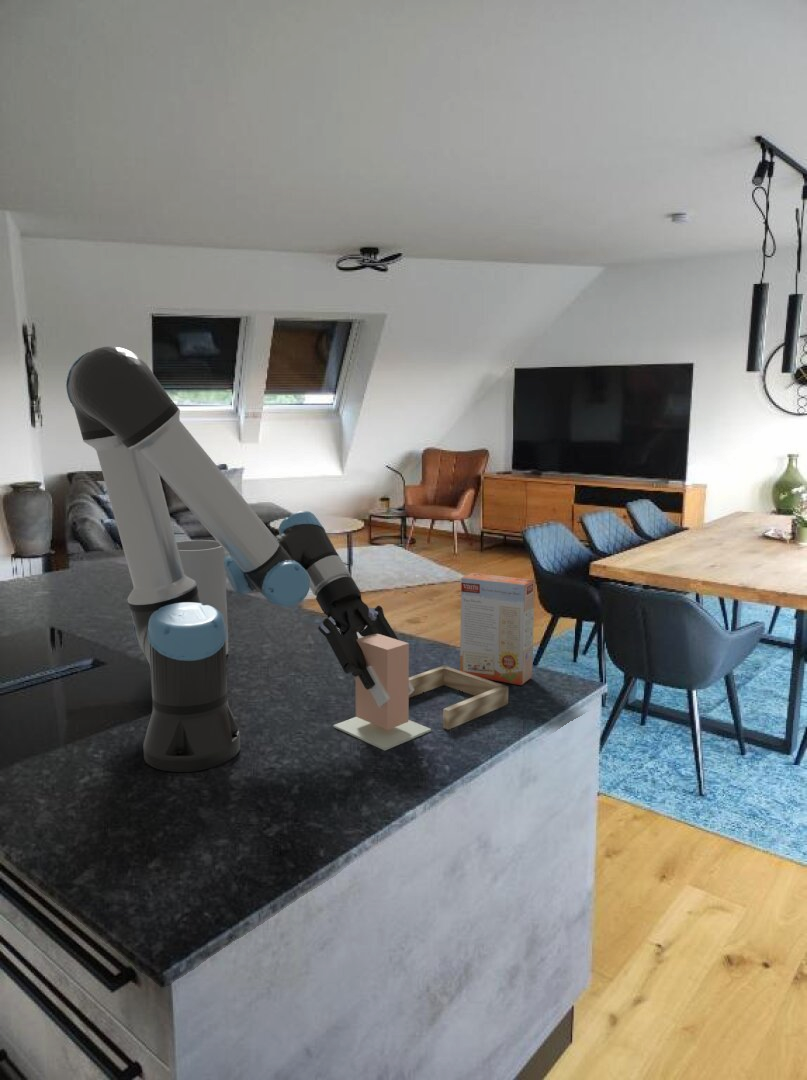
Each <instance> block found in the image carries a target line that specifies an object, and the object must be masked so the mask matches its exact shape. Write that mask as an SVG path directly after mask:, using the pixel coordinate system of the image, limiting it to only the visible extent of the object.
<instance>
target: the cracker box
mask: <svg viewBox="0 0 807 1080" xmlns="http://www.w3.org/2000/svg"><path fill="white" fill-rule="evenodd" d="M460 580H461V584H460V585H461V587H460V588H461V591H460V593H461V594H460V643H459V645H460V646H459V654H460V655H459V656H460V657H459V671H462V672H465V673H468V674H471V675H474V676H478V677H481V678H484V679H487V680H490V681H494V682H495V681H496V682H502V683H507V684H512V685H517V686H523V685H524V684H525V683H527V682H528V681H529V680H530V679H532V678H533V657H534V656H533V654H534V619H535V581H536V579H527V578H520V577H511V576H504V575H496V574H493V575H492V574H487V573H486V574H485V573H478V572H471V573H469V574H467V575H464V576H462V577H461V579H460Z"/></svg>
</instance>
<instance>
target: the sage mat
mask: <svg viewBox="0 0 807 1080" xmlns="http://www.w3.org/2000/svg"><path fill="white" fill-rule="evenodd" d="M333 728H334V729H336V730H339V731H341V732H343V733H346V734H348V735H350V736H352V737H354V738H356V739H359V740H360V741H363V742H365V743H367V744H369V745H372V746H373V747H376V748H378V749H380V750H382V751H384V752H385V751H388V750H390V749H392V748H394V747H397V746H399V745H401V744H404V743H406V742H408V741H411V740H413V739H416V738H418V737H420V736H423V735H425V734H428V733H430V732H432V729H431V728H430V727H427V726H425V725H422V724H420V723H417V722H416V721H412V720H411V719H409V722H407V723H404V724H402V725H399V726H397V727H394V728H391V729H389V730H386V729H384V728H381V727H379V726H377V725H374V724H372V723H370V722H367V721H365V720H363V719H360V718H358V717H356V716H354V717H351V718H350V719H347V720H343V721H341V722H338V723H335V724H333Z"/></svg>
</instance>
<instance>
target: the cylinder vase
mask: <svg viewBox="0 0 807 1080" xmlns="http://www.w3.org/2000/svg"><path fill="white" fill-rule="evenodd" d="M176 543H177V547H178V551H179V555H180V559H181V563H182V567H183V570H184V574H185V575H186V576H187V577H189V578H191V579H193V580H194V581H196V585H197V589H198V593H199V596H200V600H201V603H202V604H203V605H210V606H212V607H214V608H216V609H217V610H219V611H220V613H221V614H222V616H223V618H224V625H225V628H226V639H225V640H226V656H227V655H228V654H229V632H228V627H229V626H228V608H227V607H228V606H227V601H228V600H227V577H226V576H227V574H226V571H225V568H224V559H225V558H226V555H225V554H226V551H225V550H224V549H223V547H222V546H221V545H220V544H219V543H218V542H217V541H216V540H210V539H208V540H206V539H193V540H181V541H176Z"/></svg>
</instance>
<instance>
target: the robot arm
mask: <svg viewBox="0 0 807 1080" xmlns="http://www.w3.org/2000/svg"><path fill="white" fill-rule="evenodd" d="M66 378H67V379H66V382H65V383H66V385H65V386H66V394H67V397H68V400H69V402H70V403H71V404H72V405H71V406H72V407H73V409H74V413H75V416H76V420H77V423H78V427H79V430H80V434H81V437H82V441H83V443H85V444H87V445H89V446H90V447H91V448H93V449H94V450H95V451H96V455H97V458H98V462H99V465H100V469H101V472H102V476H103V481H104V483H105V487H106V490H107V494H108V499H109V501H110V506H111V510H112V513H113V517H114V520H115V523H116V528H117V531H118V535H119V537H120V542H121V545H122V546H121V547H122V550H123V554H124V556H125V561H126V564H127V568H128V572H129V575H130V579H131V582H132V586H133V589H132V590H131V592H130V593H129V595H128V597H127V602H128V603H127V604H128V607H129V611H130V614H131V617H132V621H133V623H132V625H133V629H132V630H133V635H134V639H135V641H136V643H137V645H138V647H139V648H140V649H141V651H142V652H143V654H144V656H145V658H146V660H147V661H148V664H149V668H150V681H151V697H152V711H151V714H150V715H151V716H150V719H149V722H148V726H147V729H146V733H145V737H144V739H143V745H142V746H143V747H142V748H143V759H144V761H145V763H146V764H147V765H148V766H150V767H151V768H154V769H157V770H160V771H165V772H171V773H172V772H173V773H188V772H190V773H191V772H198V771H203V770H207V769H211V768H215V767H218V766H221V765H223V764H225V763H227V762H228V761H229V762H230V761H231V760H232V759H233V758H235V757H236V756H237V755H238V753H239V752H240V749H241V735H240V730H239V729H238V726H237V723H236V721H235V718H234V715H233V712H232V710H231V708H230V705H229V701H228V677H227V676H228V675H227V673H228V672H227V655H226V640H225V639H226V628H225V625H224V618H223V616H222V614H221V613H220V611H219V610H217V609H216V608H214V607H212V606H210V605H203V604H202V603H201V600H200V596H199V593H198V589H197V585H196V581H194V580H193V579H191V578H189V577H187V576H186V575H185V574H184V570H183V567H182V563H181V559H180V555H179V551H178V547H177V543H176V542H177V539H176V536H175V532H174V529H173V528H174V527H173V524H172V520H171V517H170V511H169V509H168V505H167V504H168V503H167V500H166V495H165V492H164V489H163V484H162V481H161V478H162V479H163V481H164V482H165V483H166V485H168V487H170V489H172V491H173V492H174V493H175V495H177V497H178V498H179V499H180V500H181V502H182V503H183V504H184V505H185V506H186V507H187V508H188V509H189V511H190V512H191V513H192V515H194V516H195V518H196V520H198V521H199V522H200V523H201V524H202V526H204V528H205V529H206V530H207V531H208V533H209V534H210V535H211V536H212V537H213V538H214V539H215V541H217V542H218V543H219V544H220V545H221V546H222V547H223V549H224V550H225V553H226V554H228V555H227V556H225V559H224V568H225V572H226V576H227V577H226V578H227V579H228V581H229V584H230V585H231V587H232V589H233V591H234V592H235V593H236V594H238V595H240V596H241V595H245V594H248V593H253V592H254V591H257V592H258V593H260V594H261V595H262V596H264V597H265V599H267V601H268V602H270V603H271V604H273V605H276V606H278V607H281V608H290V607H294V606H296V605H299V604H300V603H301V602H303V600H305V598H306V597H307V595H308V594H309V591H311V593H312V594H313V595H314V596H315V597H316V599H315V600H316V602H317V604H318V605H319V608H320V609H321V610H322V613H323V614H324V615H325V616H326V617H327V618H324V619H323V621H321V623H320V624H319V626H318V630H319V632H320V633H321V634H322V635H323V636H324V637H325V639H326V640H327V642H328V643H329V644H328V645H330V648H331V650H332V651H333V653H334V655H335V657H336V659H337V661H338V662H339V665H340V666H341V668H342V669H343V672H344V673H345V674H347V675H349V674H350V673H351V675H352V676H353V677H354V678H356V677H357V676H359V678H360V680H361V681H362V683H363V685H364V687H365V688H366V689H367V690H368V689H369V690H370V692H371V694H372V696H373V697H374V699H375V701H376V703H377V705H378V706H379V708H380V707H382V706H383V705H384V704H385V703H386V702H387V701H389V700H390V697H389V695H388V694H387V692H386V690H385V689H384V687H383V685H382V683H381V681H380V680H379V678H378V676H377V674H376V673H375V671H374V669H373V667H372V666H368V667H367V668H366V666H367V664H366V661H365V658H364V655H363V652H362V649H361V647H360V646H359V644H358V642H357V640H356V639H358V636H357V632H358V633H359V634H360V635H361V636H364V637H365V636H369V635H372V634H380V635H384V636H387V637H390V638H393V639H397V640H399V638H398V637H397V635H396V633H395V632H394V629H393V628H392V627H391V625H390V623H389V622H388V620H387V619H386V616H385V613H384V609H383V607H382V606H381V605H377V606H375V608H373V607H369V606H368V605H367V604H366V603H365V602H364V601H363V599H362V593H361V590H360V589H359V587H358V585H357V583H356V581H355V580H354V578H353V577H351V573H350V571H349V570H348V568H347V566H346V565H345V563H344V562H343V560H342V558H341V556H340V555H339V553H338V552H337V550H336V548H335V546H334V544H333V542H332V541H331V539H330V537H329V536H328V533H327V531H326V529H325V528H324V526H323V525H322V523H321V522H320V521H319V519H318V518H317V516H316V515H315V513H313V512H311V511H309V510H300V511H297V512H293V513H292V514H290V516H288V517H285V518H284V519H283V520H282V521H281V523H280V524H279V525H278V526H279V527H278V534H277V535H274V534H273V533H272V531H271V530H270V529H269V528H268V527H267V526H266V524H265V523H264V522H263V520H262V519H261V518H260V517H259V516H258V514H257V513H256V512H255V511H254V509H253V508H252V507H251V506H250V505H249V503H248V502H247V501H246V499H244V497H243V496H242V495H241V494H240V492H239V491H238V490H237V489H236V488H235V486H234V485H233V484H232V483H231V481H230V480H229V479H228V478H227V476H226V475H225V474H224V473H223V471H222V470H221V469H220V468H219V467H218V465H217V464H216V463H215V461H213V459H212V458H211V456H210V455H209V454H208V453H207V452H206V451H205V449H204V448H203V447H202V446H201V445H200V443H199V442H198V441H197V440H196V439H195V437H194V436H193V435H192V434H191V432H190V431H189V430H188V429H187V428H186V426H185V425H184V423H182V421H181V420H180V415H181V409H180V408H179V407H178V405H177V404H176V403H175V402H174V400H172V398H171V397H170V395H169V394H168V393H167V391H166V390H165V388H164V387H163V386H162V385H161V383H160V382H159V380H158V378H157V377H156V376H155V373H153V371H152V370H151V368H150V367H149V366H148V364H147V363H146V362H145V361H144V360H143V359H142V358H141V357H140V356H139V355H137V354H136V353H134V352H133V351H131V350H128V349H126V348H124V347H118V346H114V345H113V346H110V345H109V346H101V347H97V348H95V349H92V350H91V351H88V352H85V353H84V354H82V355H81V356H80V357H78V358H77V360H75V361H74V362H73V363H72V365H71V367H70V369H69V370H68V373H67V377H66ZM366 626H367V627H366ZM365 627H366V628H365ZM364 628H365V629H364ZM338 629H339V630H340V632H339V630H338ZM340 633H341V634H340ZM413 691H414V688H413V686H412V685H411V683H410V681H409V695H410V694H411V693H412V692H413Z"/></svg>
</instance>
